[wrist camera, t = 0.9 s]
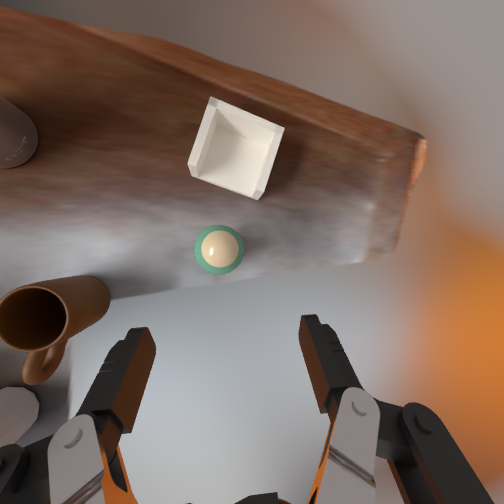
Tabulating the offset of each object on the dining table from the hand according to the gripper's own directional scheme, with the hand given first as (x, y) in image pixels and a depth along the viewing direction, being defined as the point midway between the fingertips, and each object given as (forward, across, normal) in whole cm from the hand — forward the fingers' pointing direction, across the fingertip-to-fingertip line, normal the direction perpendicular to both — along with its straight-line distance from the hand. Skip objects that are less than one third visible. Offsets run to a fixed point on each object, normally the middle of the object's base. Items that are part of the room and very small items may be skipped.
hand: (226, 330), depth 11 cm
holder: (+31, -1, -3) cm, 31 cm away
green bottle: (+23, +2, +9) cm, 25 cm away
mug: (+17, +23, +15) cm, 32 cm away
